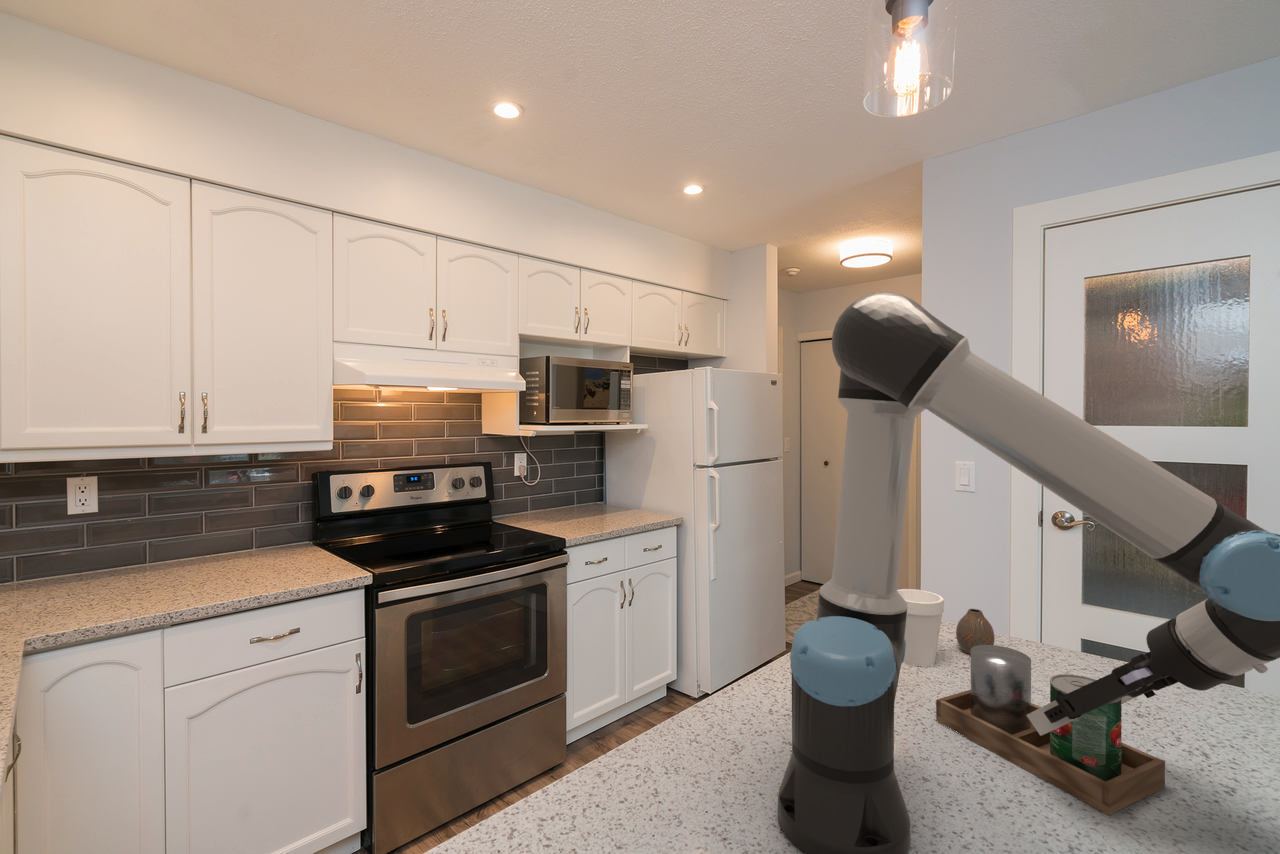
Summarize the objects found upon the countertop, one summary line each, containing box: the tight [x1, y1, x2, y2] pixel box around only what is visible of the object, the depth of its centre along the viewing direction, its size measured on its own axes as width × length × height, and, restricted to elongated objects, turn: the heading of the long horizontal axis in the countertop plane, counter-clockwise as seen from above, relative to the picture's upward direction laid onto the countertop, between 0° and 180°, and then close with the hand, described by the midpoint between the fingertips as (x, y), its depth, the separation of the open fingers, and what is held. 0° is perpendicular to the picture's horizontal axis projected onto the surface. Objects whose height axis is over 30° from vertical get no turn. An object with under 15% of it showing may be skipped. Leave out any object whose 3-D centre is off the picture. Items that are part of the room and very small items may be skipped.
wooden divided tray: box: [935, 689, 1166, 816], centre depth 86 cm, size 24×13×4 cm, turn 24°
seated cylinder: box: [970, 644, 1032, 735], centre depth 91 cm, size 8×8×11 cm
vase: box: [955, 608, 996, 656], centre depth 121 cm, size 7×7×9 cm
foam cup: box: [897, 588, 945, 668], centre depth 117 cm, size 10×9×13 cm
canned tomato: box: [1049, 673, 1123, 782], centre depth 80 cm, size 8×8×11 cm
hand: (1065, 713), depth 82 cm, fingers open, 13 cm apart
